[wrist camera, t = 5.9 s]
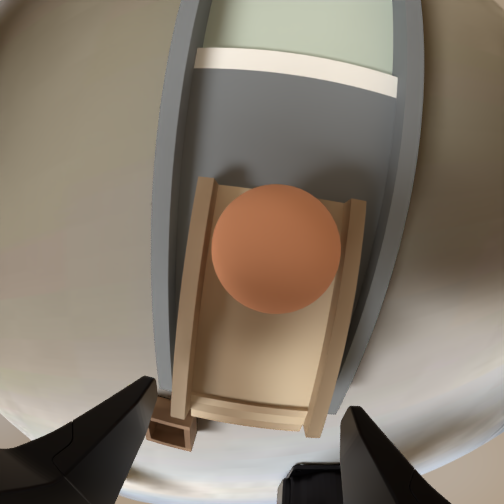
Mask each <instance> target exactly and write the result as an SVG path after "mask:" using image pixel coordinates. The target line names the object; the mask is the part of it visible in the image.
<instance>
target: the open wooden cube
mask: <svg viewBox="0 0 504 504" xmlns="http://www.w3.org/2000/svg"><path fill="white" fill-rule="evenodd" d="M196 434H197V417H194V416H191V409H190V410H189V412H188V414H187V416H186V418H185V420H183V419H179V418H175V417H171V400H170V399H166V398H163V397H159V396H158V397H157V401H156V404H155V407H154V410H153V413H152V417H151V420H150V423H149V426H148V429H147V432H146V439H147V440H150V441H153V442H156V443H160V444H163V445H167V446H170V447H174V448H178V449H182V450H186V451H190V452H191V451H192V447H193V444H194V441H195V437H196Z"/></svg>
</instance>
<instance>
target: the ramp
mask: <svg viewBox="0 0 504 504" xmlns="http://www.w3.org/2000/svg"><path fill="white" fill-rule="evenodd" d="M248 190H250V188H242V187H234V186H226V185H218V183H217V181H216V180H215V178H209V177H199V176H198V181H197V186H196V192H195V197H194V203H193V209H192V215H191V221H190V227H189V234H188V240H187V247H186V254H185V261H184V268H183V276H182V284H181V292H180V301H179V310H178V319H177V329H176V340H175V351H174V364H173V378H172V395H171V417H175V418H179V419H183V420H185V418H186V416H187V414H188V412H189V410H190V409H191V416H194V417H199V418H204V419H209V420H214V421H219V422H225V423H230V424H237V425H243V426H250V427H258V428H266V429H275V430H286V431H300V429H301V427H302V425H303V426H304V431H305V435H306V437H310V438H320V436H321V433H322V430H323V427H324V423H325V420H326V417H327V414H328V410H329V407H330V403H331V400H332V396H333V393H334V389H335V385H336V381H337V377H338V373H339V369H340V365H341V361H342V357H343V353H344V348H345V344H346V339H347V334H348V329H349V324H350V319H351V314H352V309H353V303H354V298H355V292H356V286H357V279H358V273H359V266H360V258H361V251H362V243H363V234H364V224H365V214H366V202H367V201H363V200H358V199H352V198H351V199H350V200H348V201H347V202H345V203H340V202H335V201H329V200H323V199H318V198H317V199H318V200H319V201H320V202H321V203H322V204H323V205H324V206H325V207H326V208H327V210H328V211H329V212H330V214H331V215H332V217H333V219H334V221H335V223H336V225H337V229H338V232H339V236H340V242H341V256H340V262H339V267H338V270H337V272H336V275H335V277H334V279H333V281H332V283H331V284H330V286H329V287H328V289H327V290H326V291H325V292H324V293H323V294H322V295H321V296H320V297H319V298H318V299H317V300H316V301H314V302H313V303H311V304H310V305H308V306H306V307H304V308H302V309H300V310H297V311H294V312H290V313H283V314H268V313H262V312H258V311H255V310H253V309H250V308H248V307H246V306H244V305H242V304H241V303H239V302H238V301H237V300H235V299H234V298H233V297H232V296H231V295H230V294H229V293H228V292H227V291H226V290H225V288H224V287H223V285H222V284H221V282H220V281H219V278H218V276H217V274H216V272H215V269H214V265H213V261H212V254H211V246H212V237H213V233H214V229H215V226H216V224H217V222H218V219H219V217H220V216H221V214H222V213H223V211H224V210H225V209H226V207H227V206H228V205H229V204H230V203H231V202H232V201H233V200H234V199H236V198H237V197H238V196H240V195H241V194H243V193H244V192H246V191H248Z"/></svg>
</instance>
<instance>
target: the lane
mask: <svg viewBox="0 0 504 504" xmlns="http://www.w3.org/2000/svg"><path fill="white" fill-rule="evenodd" d="M423 93H424V34H423V18H422V7H421V0H181V3H180V7H179V10H178V15H177V19H176V23H175V27H174V32H173V36H172V41H171V46H170V51H169V56H168V61H167V67H166V73H165V79H164V85H163V91H162V98H161V105H160V113H159V121H158V130H157V139H156V150H155V161H154V175H153V191H152V215H151V287H152V311H153V327H154V341H155V353H156V363H157V372H158V381H159V389H163V390H167V391H171V392H172V378H173V364H174V351H175V340H176V329H177V319H178V310H179V301H180V292H181V284H182V276H183V268H184V261H185V254H186V247H187V240H188V234H189V227H190V221H191V215H192V209H193V203H194V197H195V192H196V186H197V181H198V176H199V177H209V178H215V180H216V181H217V183H218V185H226V186H234V187H242V188H250V189H253V188H256V187H259V186H263V185H270V184H282V185H289V186H293V187H296V188H300V189H302V190H304V191H306V192H308V193H310V194H311V195H313V196H314V197H315V198H318V199H323V200H329V201H335V202H340V203H345V202H347V201H348V200H350V199H351V198H352V199H358V200H363V201H367V202H366V214H365V224H364V234H363V243H362V251H361V258H360V266H359V273H358V279H357V286H356V292H355V298H354V303H353V309H352V314H351V319H350V324H349V329H348V334H347V339H346V344H345V348H344V353H343V357H342V361H341V365H340V369H339V373H338V377H337V381H336V385H335V389H334V393H333V396H332V400H331V403H330V407H329V410H328V414H336V413H337V411H338V409H339V407H340V405H341V403H342V401H343V399H344V397H345V395H346V393H347V391H348V389H349V386H350V384H351V382H352V380H353V378H354V375H355V373H356V371H357V369H358V366H359V364H360V362H361V359H362V357H363V354H364V352H365V350H366V347H367V345H368V342H369V340H370V337H371V334H372V332H373V329H374V326H375V324H376V321H377V318H378V315H379V312H380V310H381V307H382V304H383V301H384V298H385V295H386V292H387V288H388V285H389V282H390V279H391V275H392V272H393V269H394V265H395V262H396V258H397V254H398V251H399V247H400V243H401V239H402V235H403V231H404V227H405V222H406V218H407V213H408V208H409V204H410V199H411V193H412V188H413V182H414V176H415V170H416V164H417V157H418V149H419V141H420V132H421V122H422V110H423Z"/></svg>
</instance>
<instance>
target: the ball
mask: <svg viewBox="0 0 504 504" xmlns="http://www.w3.org/2000/svg"><path fill="white" fill-rule="evenodd" d="M211 254H212V261H213V265H214V269H215V272H216V274H217V276H218V278H219V281H220V282H221V284H222V285H223V287H224V288H225V290H226V291H227V292H228V293H229V294H230V295H231V296H232V297H233V298H234V299H235V300H237V301H238V302H239V303H241V304H242V305H244V306H246V307H248V308H250V309H253V310H255V311H258V312H262V313H268V314H283V313H290V312H294V311H297V310H300V309H302V308H304V307H306V306H308V305H310V304H311V303H313V302H314V301H316V300H317V299H318V298H319V297H320V296H321V295H322V294H323V293H324V292H325V291H326V290H327V289H328V287H329V286H330V284H331V283H332V281H333V279H334V277H335V275H336V272H337V270H338V267H339V262H340V256H341V242H340V236H339V232H338V229H337V225H336V223H335V221H334V219H333V217H332V215H331V214H330V212H329V211H328V210H327V208H326V207H325V206H324V205H323V204H322V203H321V202H320V201H319V200H318V199H317V198H315V197H314V196H313V195H311V194H310V193H308V192H306V191H304V190H302V189H300V188H296V187H293V186H289V185H282V184H270V185H263V186H259V187H256V188H253V189H250V190H248V191H246V192H244V193H243V194H241V195H240V196H238V197H237V198H236V199H234V200H233V201H232V202H231V203H230V204H229V205H228V206H227V207H226V209H225V210H224V211H223V213H222V214H221V216H220V217H219V219H218V222H217V224H216V226H215V229H214V233H213V237H212V246H211Z"/></svg>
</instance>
